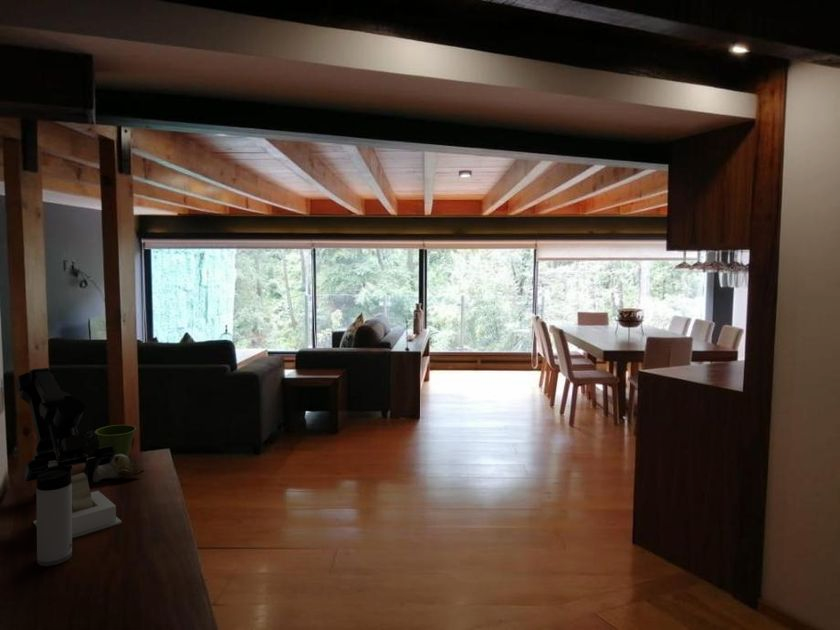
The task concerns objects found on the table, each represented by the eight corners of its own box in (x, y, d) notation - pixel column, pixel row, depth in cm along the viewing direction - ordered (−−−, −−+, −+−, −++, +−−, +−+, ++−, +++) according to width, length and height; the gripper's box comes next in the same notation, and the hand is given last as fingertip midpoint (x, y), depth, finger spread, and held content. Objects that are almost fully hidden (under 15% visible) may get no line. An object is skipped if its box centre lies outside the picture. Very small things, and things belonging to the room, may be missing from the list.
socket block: (33, 523, 127) (33, 505, 126) (101, 504, 138) (101, 488, 138) (50, 545, 117) (50, 526, 117) (121, 523, 128) (121, 505, 128)
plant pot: (98, 472, 160) (98, 437, 160) (91, 461, 169) (91, 428, 168) (140, 464, 168) (140, 431, 167) (131, 454, 177) (131, 422, 176)
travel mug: (80, 554, 114) (80, 467, 113) (50, 569, 108) (49, 477, 106) (60, 548, 116) (59, 462, 115) (30, 563, 110) (29, 472, 108)
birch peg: (72, 514, 128) (64, 478, 126) (91, 507, 131) (83, 472, 129) (76, 520, 125) (68, 483, 123) (94, 513, 128) (87, 476, 126)
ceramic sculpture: (82, 449, 155) (137, 443, 165) (80, 477, 155) (135, 469, 165) (89, 460, 147) (146, 453, 157) (87, 489, 147) (144, 480, 157)
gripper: (26, 428, 121) (39, 487, 115) (113, 415, 135) (129, 466, 129) (19, 452, 127) (30, 509, 121) (103, 437, 141) (117, 487, 135)
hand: (79, 492), depth 126 cm, fingers closed on birch peg, 4 cm apart
